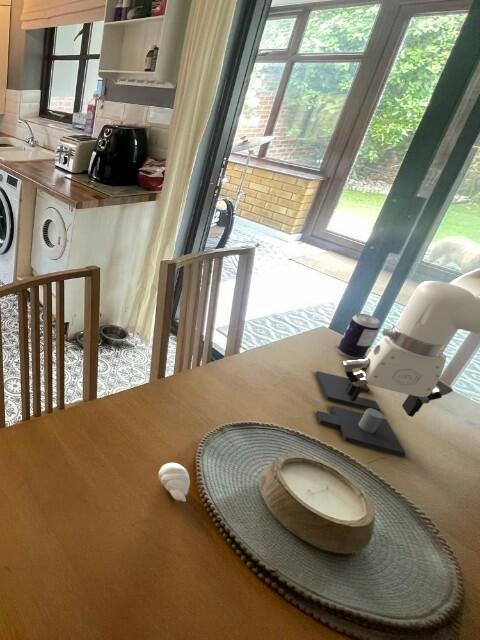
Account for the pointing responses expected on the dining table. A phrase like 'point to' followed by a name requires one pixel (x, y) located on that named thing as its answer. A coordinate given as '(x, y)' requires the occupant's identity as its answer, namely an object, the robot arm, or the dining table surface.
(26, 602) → the dining table surface
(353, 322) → the beverage can
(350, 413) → the pad
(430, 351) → the robot arm
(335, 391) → the notch pad
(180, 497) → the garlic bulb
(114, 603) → the dining table surface
